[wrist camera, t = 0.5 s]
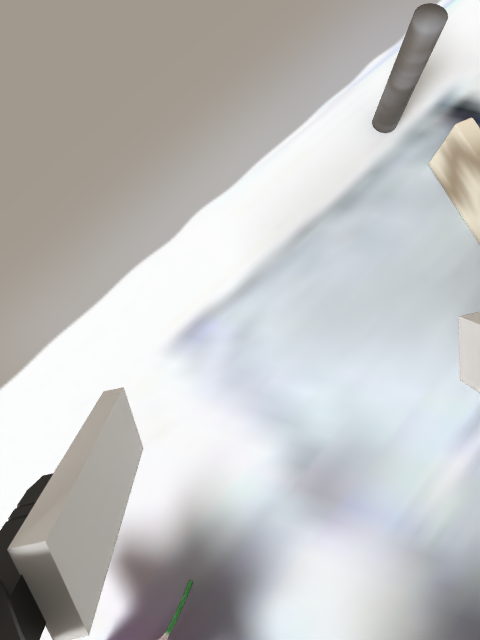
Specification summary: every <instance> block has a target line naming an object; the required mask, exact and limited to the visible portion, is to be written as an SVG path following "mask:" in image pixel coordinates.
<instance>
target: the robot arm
mask: <svg viewBox="0 0 480 640" xmlns="http://www.w3.org/2000/svg"><path fill="white" fill-rule="evenodd" d="M459 360H460V380H461V381H462V382H464V383H465V384H467V385H468V386H470V387H471V388H473V389H474V390H476V391H478V392H479V393H480V313H479V312H477V313H472V314H467V315H463V316H459ZM142 451H143V446H142V443H141V440H140V437H139V434H138V430H137V427H136V424H135V421H134V418H133V415H132V412H131V409H130V406H129V403H128V400H127V396H126V393H125V390H124V387H123V388H118V389H114V390H109V391H104V392H103V393H102V395H101V397H100V398H99V400H98V402H97V403H96V405H95V406H94V408H93V410H92V411H91V413H90V415H89V416H88V418H87V420H86V421H85V423H84V424H83V426H82V428H81V429H80V431H79V433H78V434H77V436H76V438H75V439H74V441H73V442H72V444H71V446H70V447H69V449H68V451H67V452H66V454H65V456H64V457H63V459H62V460H61V462H60V464H59V465H58V467H57V469H56V470H55V472H54V473H53V474H48V475H44V476H42V477H41V478H40V479H39V480H38V481H37V482H36V483H35V484H33V485H32V486H31V487H30V488H29V489H28V490H27V491H26V493H25V494H24V496H23V497H22V499H21V500H20V502H19V503H18V505H17V508H16V509H14V511H13V512H12V514H11V515H10V517H9V518H8V519H9V521H8V522H6V523H5V524H4V526H3V527H2V529H1V530H0V640H40V637H41V635H42V632H43V630H44V627H45V625H46V627H47V629H48V631H49V633H50V635H51V637H52V639H53V640H71V639H75V638H80V637H84V636H89V633H90V629H91V626H92V623H93V619H94V616H95V612H96V609H97V605H98V602H99V599H100V595H101V592H102V588H103V585H104V581H105V578H106V574H107V571H108V568H109V564H110V561H111V557H112V554H113V550H114V547H115V544H116V540H117V537H118V533H119V530H120V526H121V523H122V519H123V516H124V513H125V509H126V506H127V502H128V499H129V495H130V492H131V488H132V485H133V482H134V478H135V475H136V471H137V468H138V464H139V461H140V458H141V454H142Z"/></svg>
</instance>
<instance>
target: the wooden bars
mask: <svg viewBox="0 0 480 640" xmlns="http://www.w3.org/2000/svg"><path fill="white" fill-rule="evenodd" d="M447 19H448V14H447V12H446V10H445V9H444V8H443V7H441V6H439V5H437V4H423V5H421V6H419V7H418V8H417V9H416V10H415V12H414V15H413V17H412V20H411V23H410V25H409V27H408V30H407V33H406V35H405V38H404V40H403V43H402V45H401V48H400V51H399V53H398V56H397V58H396V61H395V64H394V66H393V69H392V71H391V74H390V76H389V79H388V82H387V84H386V87H385V89H384V92H383V94H382V97H381V100H380V102H379V105H378V107H377V110H376V112H375V115H374V118H373V120H372V125H373V127H374V128H375V129H376V130H377V131H379V132H382V133H388V132H391V131H393V130H394V129H395V128H396V126H397V124H398V121H399V119H400V117H401V115H402V113H403V111H404V109H405V107H406V105H407V103H408V101H409V99H410V96H411V94H412V92H413V90H414V88H415V86H416V84H417V82H418V80H419V78H420V76H421V74H422V71H423V69H424V67H425V65H426V63H427V61H428V59H429V57H430V55H431V53H432V51H433V49H434V46H435V44H436V42H437V40H438V38H439V36H440V34H441V32H442V30H443V28H444V26H445V24H446V21H447ZM428 165H429V166H430V168H431V169H432V171H433V173H434V174H435V176H436V177H437V179H438V180H439V182H440V183H441V185H442V186H443V188H444V190H445V191H446V193H447V194H448V196H449V197H450V199H451V200H452V202H453V204H454V205H455V207H456V208H457V210H458V211H459V213H460V214H461V216H462V217H463V219H464V221H465V222H466V224H467V225H468V227H469V228H470V230H471V231H472V233H473V235H474V236H475V238H476V239H477V241H478V242H479V244H480V128H479V126H478V125H477V124H476V122H475V121H474V119H473V118H470V119H467V120H465V121H462V122H460V123H457V124H456V125H455V126H454V127H453V129H452V130H451V132H450V133H449V135H448V136H447V138H446V139H445V141H444V142H443V144H442V145H441V146H440V148H439V149H438V151H437V152H436V154H435V155H434V157H433V158H432V160H431V161H430V163H429V164H428Z"/></svg>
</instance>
